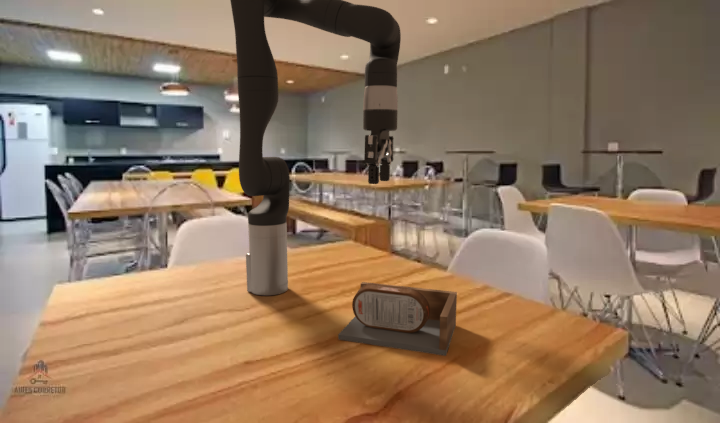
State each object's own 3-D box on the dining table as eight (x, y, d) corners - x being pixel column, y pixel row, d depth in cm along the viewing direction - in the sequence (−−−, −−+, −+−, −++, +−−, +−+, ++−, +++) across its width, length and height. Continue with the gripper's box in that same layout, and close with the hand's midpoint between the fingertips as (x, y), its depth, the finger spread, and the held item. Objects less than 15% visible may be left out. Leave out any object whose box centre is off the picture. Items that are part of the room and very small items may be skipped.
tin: (430, 331, 84) (431, 288, 83) (426, 337, 82) (428, 293, 80) (355, 320, 89) (355, 280, 88) (350, 326, 86) (350, 285, 85)
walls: (338, 334, 83) (338, 303, 82) (362, 308, 96) (362, 281, 95) (446, 350, 76) (447, 317, 76) (455, 320, 90) (456, 291, 89)
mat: (338, 339, 83) (338, 334, 83) (362, 313, 96) (362, 308, 96) (445, 355, 77) (446, 350, 76) (455, 325, 90) (455, 320, 90)
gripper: (388, 105, 89) (386, 185, 92) (404, 110, 103) (403, 180, 105) (353, 106, 92) (352, 184, 94) (374, 111, 105) (373, 179, 108)
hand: (379, 182), depth 100 cm, fingers open, 8 cm apart
